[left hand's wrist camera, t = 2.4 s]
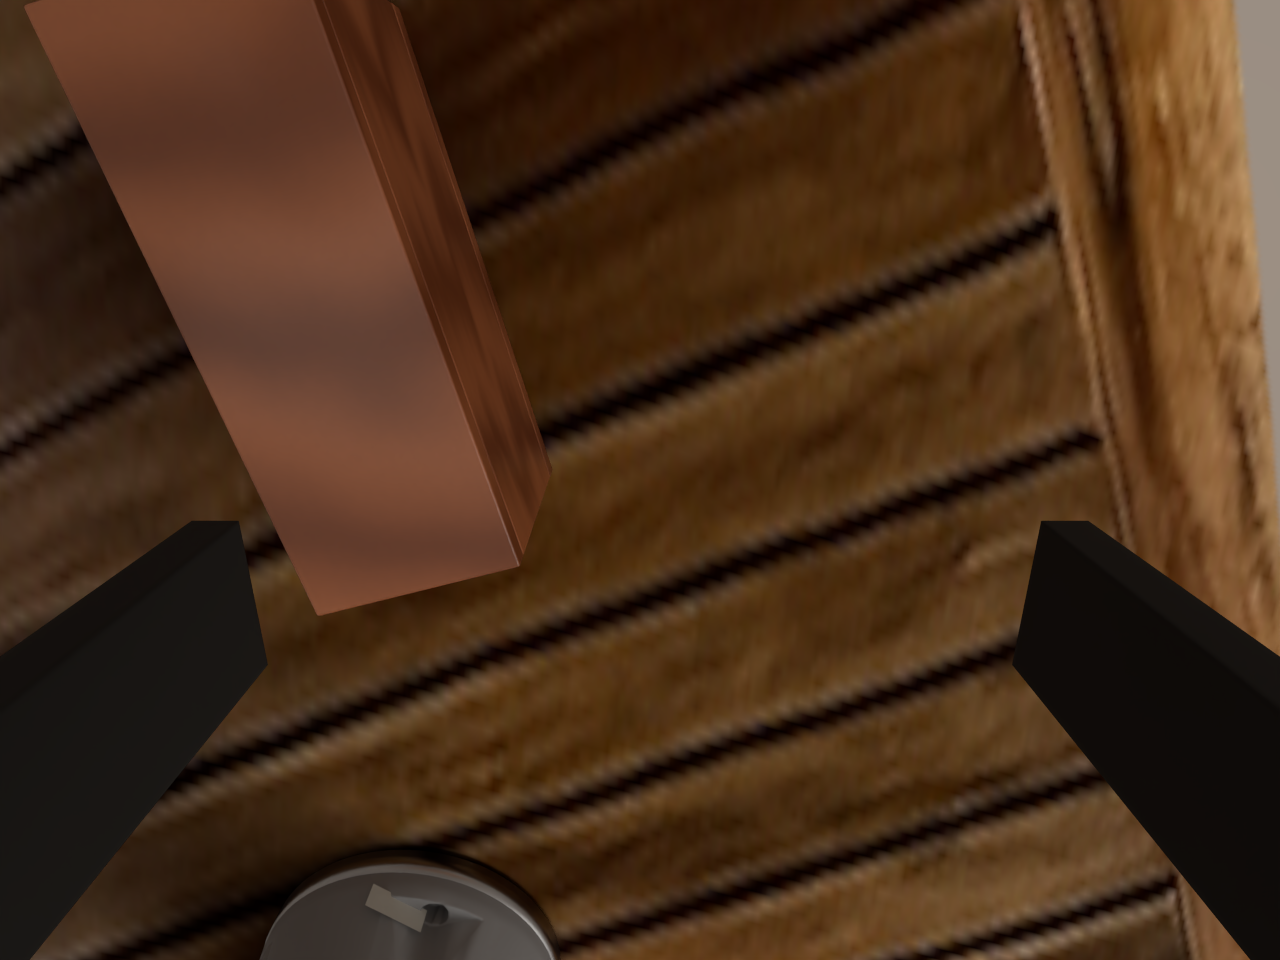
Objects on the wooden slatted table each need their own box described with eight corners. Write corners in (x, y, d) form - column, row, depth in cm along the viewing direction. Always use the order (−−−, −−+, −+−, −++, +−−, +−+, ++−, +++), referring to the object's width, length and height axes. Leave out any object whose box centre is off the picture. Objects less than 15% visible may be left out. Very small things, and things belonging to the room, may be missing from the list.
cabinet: (217, 66, 26) (20, 4, 17) (399, 7, 25) (282, -86, 17) (401, 509, 31) (317, 617, 23) (552, 470, 31) (520, 566, 22)
